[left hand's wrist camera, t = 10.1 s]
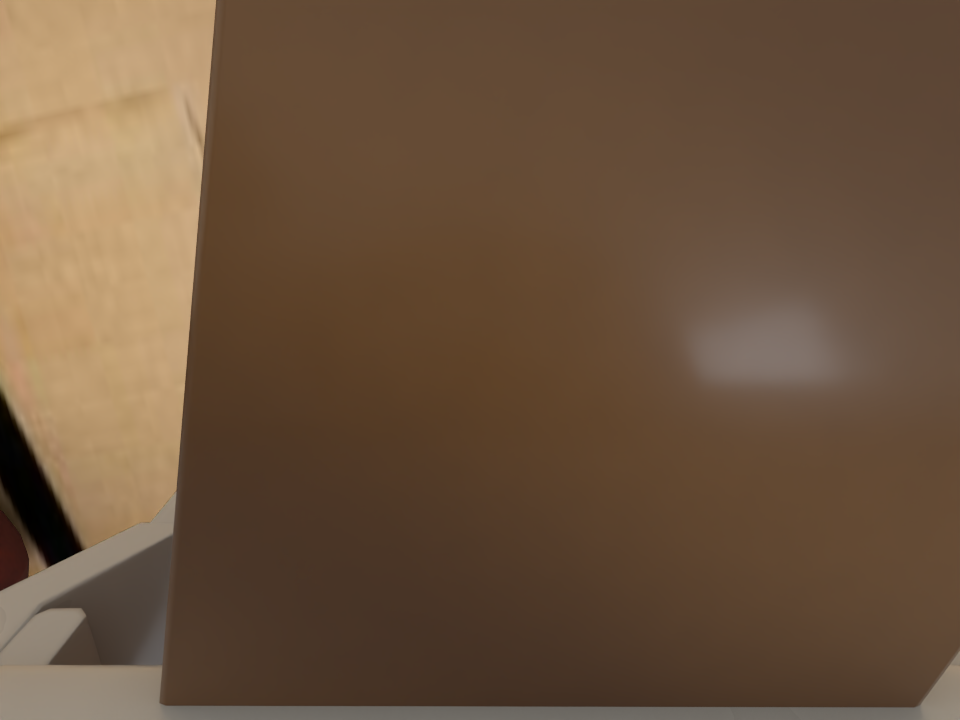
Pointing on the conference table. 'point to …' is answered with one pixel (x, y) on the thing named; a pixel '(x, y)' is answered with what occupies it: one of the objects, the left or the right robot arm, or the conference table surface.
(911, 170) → the box
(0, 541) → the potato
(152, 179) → the conference table surface
